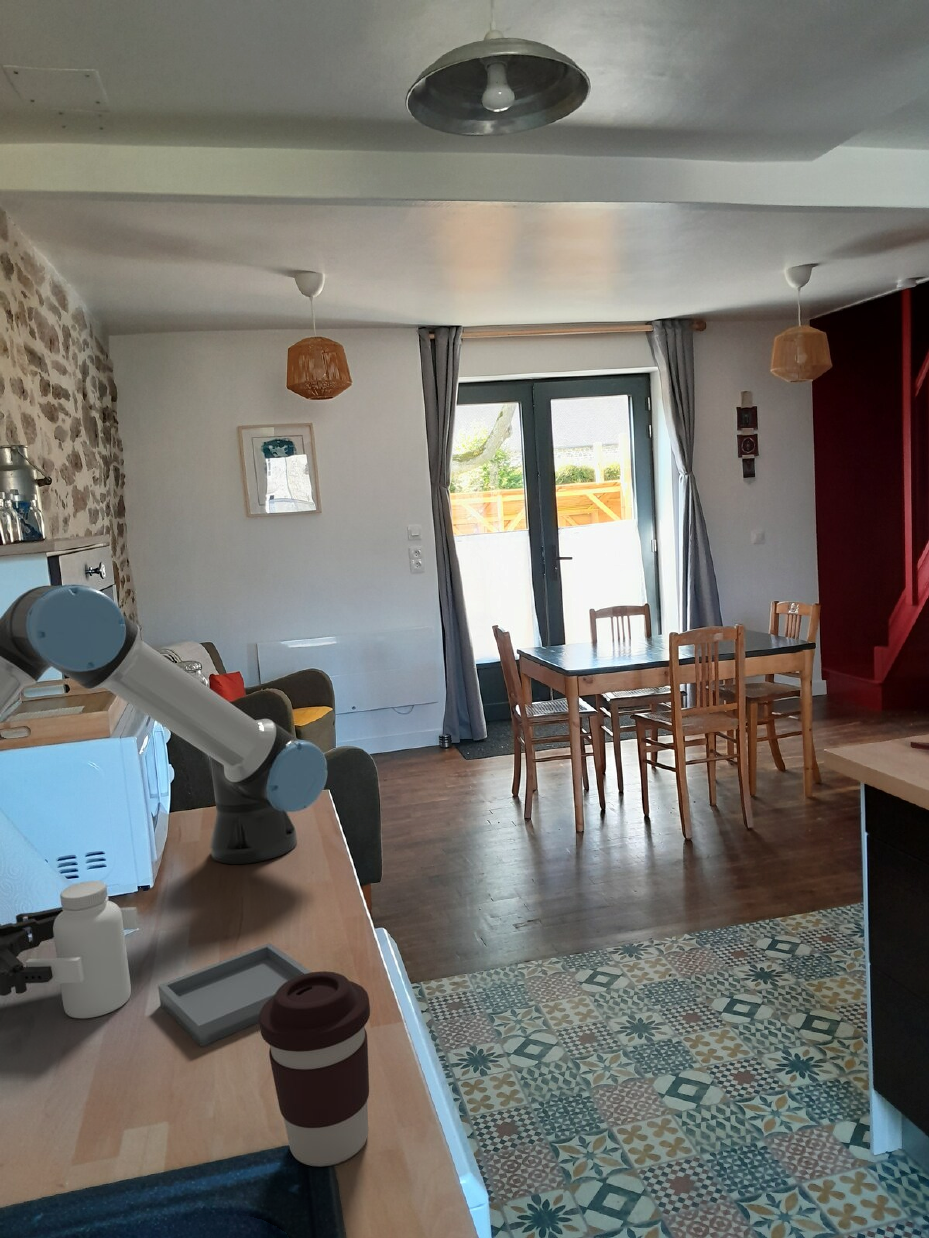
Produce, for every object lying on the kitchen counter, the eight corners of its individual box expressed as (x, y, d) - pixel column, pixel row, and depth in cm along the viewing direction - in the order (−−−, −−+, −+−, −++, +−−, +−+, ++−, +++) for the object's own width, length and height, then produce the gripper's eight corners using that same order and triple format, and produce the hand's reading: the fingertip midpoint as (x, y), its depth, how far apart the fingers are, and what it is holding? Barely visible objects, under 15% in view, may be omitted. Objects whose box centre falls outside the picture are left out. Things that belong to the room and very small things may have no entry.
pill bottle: (109, 1021, 111) (92, 901, 109) (50, 1019, 113) (33, 902, 111) (144, 987, 119) (129, 875, 117) (89, 986, 120) (73, 875, 119)
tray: (271, 960, 123) (269, 942, 123) (319, 995, 113) (317, 975, 112) (160, 1004, 114) (158, 985, 113) (201, 1046, 103) (198, 1025, 103)
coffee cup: (389, 1165, 82) (372, 1005, 80) (275, 1190, 80) (255, 1027, 78) (377, 1098, 91) (361, 954, 90) (275, 1119, 90) (257, 972, 88)
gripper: (16, 930, 130) (159, 925, 127) (-116, 1029, 105) (57, 1027, 102) (9, 879, 129) (152, 873, 126) (-126, 967, 104) (48, 963, 102)
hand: (110, 942), depth 114 cm, fingers open, 13 cm apart
